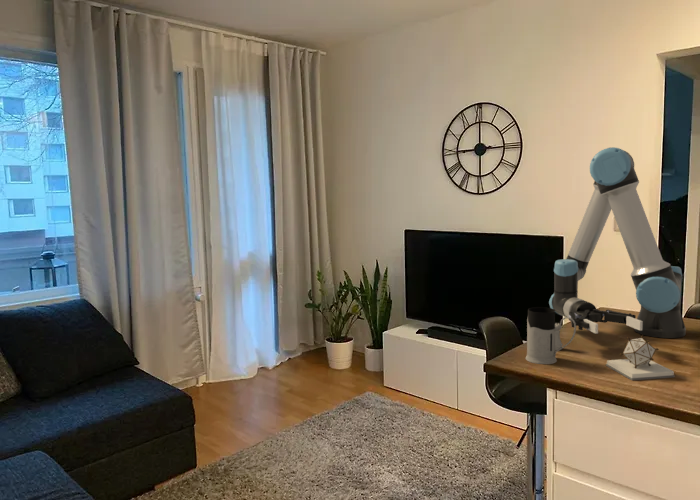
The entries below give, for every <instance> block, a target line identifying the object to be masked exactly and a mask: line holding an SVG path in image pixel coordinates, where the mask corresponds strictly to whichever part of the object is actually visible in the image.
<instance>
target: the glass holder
mask: <svg viewBox="0 0 700 500" xmlns="http://www.w3.org/2000/svg"><path fill="white" fill-rule="evenodd" d="M565 319H568V320H569V319H570V320H572V321H573V323H574V327H573V333H572V336H571V338H570V339H569V341H568V342H567V343H565V344H563V345H562V347H561V348H560V349H558V350H557V351H556V350H555V331H559V330H560V331H561V329H562V323H563V321H564V320H565ZM570 320H569V321H570ZM526 322H527V323H526V324H527V325H526V327H527V328H526V332H527V333H526V334H527V336H526V348H527V349H526V356H525V360H526V361H527V362H529V363H532V364H535V365H536V364H538V365H551V364H555V363H557V361H558V360H557V358H556V356H557V355H556V354H557V353H558V352H559V351H562V350H563V349H564V348H565V347H566V346H568V345H570V344H571V343H572V341H573V339H574V338H575V335H576V331H577V326H576V323H575V321H574V320H573V319H572V318H570V317H565V316H564V317H563V318H562V319H560V321H559V324H560V327H559V329H555V323H556V312H555V310H554V309H551V308H550V307H546V306H544V307H543V306H535V307H529V308H528V309H527V319H526ZM561 349H562V350H561Z"/></svg>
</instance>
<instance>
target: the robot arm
mask: <svg viewBox="0 0 700 500" xmlns="http://www.w3.org/2000/svg"><path fill="white" fill-rule="evenodd" d="M589 173H590V176H591V178H592V179H593V187H594V190H593V193H592V195H591V197H590V200H589V202H588V205H587V207H586V208H585V209H586V210H585V212H584V215H583V217H582V219H581V222H580V224H579V227H578V228H577V232H576V234H575V235H574V238H573V242H572V244H571V245H570V246H571V247H570V248H569V251H568V254H567V256H566V258H565V259H557V260H555V262H554V267H553V272H554V273H553V275H554V277H553V279H554V280H553V281H554V282H553V284H554V285H553V286H554V287H553V288H554V289H553V294H551V296H550V298H549V301H548V304H549V308H551V309H554V310H555V314H557V315H559V316H561V317H562V316H563V317H564V318H565V317H570V318H572V319H573V320H574V321H575V323H576V327H577V326H578V330H579V331H583V329H584V330H585V329H586V331H590V332H591V333H593V334H599V324H598V323H605V324H606V323H608V322H610V323H616V324H617V323H618V324H625V325H626V326H627V327H630V328H632V329H634V332H635V333H637V334H640V335H641V336H642V335H643V336H646V337H647V336H648V337H654V338H663V339H679V338H683V337H685V336H686V335H687V333H686V331H687V330H686V328H687V327H686V326H685V325H686V324H685V322H684V319H683V316H682V314H681V304H682V302H681V299H682V277H683V273H682V268H681V267H680V266H673V265H671V263H669V262H667V261H665V260H664V259H663V257H662V254H661V251H660V249H659V246H658V244H657V241H656V238H655V236H654V232H653V230H652V228H651V226H650V222H649V219H648V217H647V214H646V212H645V209H644V206H643V204H642V202H641V199H640V196H639V194H638V191H637V187H638V186H639V183H640V180H639V178H638V174H637V173H636V169H635V162H634V158H633V156H632V155H631V154H630V153H629V152H628V151H626V150H623V149H622V148H619V147H607V148H603V149H601V150H599V151H598V152H597V153H596V154H595V155H594V156H593V157H592V159H591V161H590V163H589ZM611 211H612V214H613V216H614V219H615V223H616V224H617V227H618V230H619V233H620V235H621V237H622V240H623V243H624V246H625V249H626V252H627V255H628V257H629V259H630V262H631V265H632V267H633V268H632V271H631V273H630V278H631V280H632V282H633V285H634V287H635V297H636V299H637V302H638V303H639V304H640V310H639V312H638V314H637V318H636V314H632V313H631V312H630V313H626V312H620V311H614V310H610V309H606V310H600V309H598V308H597V307H596V306H595V305H594V304H593V303H592V302H589V301H587V300H584V299H582V298H578V297H579V296H578V294H579V293H578V287H579V281H581V280H582V279H583V278H584V277H585V275H586V273H587V269H588V266H589V263H590V260H591V259H592V256H593V254H594V251H595V249H596V246H597V244H598V241H599V240H600V237H601V234H602V232H603V230H604V228H605V226H606V223H607V220H608V219H609V215H610V214H611ZM568 321H570V324H571V328H574V323H573V321H572V320H570V319H568Z"/></svg>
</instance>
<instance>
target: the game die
mask: <svg viewBox="0 0 700 500" xmlns="http://www.w3.org/2000/svg"><path fill="white" fill-rule="evenodd" d="M626 339H627V343H624V345H625V347H624V349H623V352H621V353H619V356H624V357H625V359H628V360H630V363H631V362H632V363H633V364H634V365H635V369H636V368H637V366H639V365H645V364H648V365H649V366H651V365H650V364H649V363H650V361H653V362H654V358H653V356H654V354H655V352H656V351H658V350H659V348H657V347H656V348H655V347H653V346H652V344H650V343H649V340H646V339H644V335H642V334H641V336H640V337H639V338H638V337H637V338H630V337H628V336H627V337H626Z"/></svg>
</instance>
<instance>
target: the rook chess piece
mask: <svg viewBox="0 0 700 500" xmlns="http://www.w3.org/2000/svg"><path fill="white" fill-rule="evenodd" d="M559 327H560V322H555V329H559ZM560 333H561V329H560V330H559V331H555V352H556V351H557V350H558V349H560V348H561V347H563V346H564V344H563V342H562V341H561V337H560V335H561V334H560ZM562 350H563V348H562V349H561V350H560V351H562Z"/></svg>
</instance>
